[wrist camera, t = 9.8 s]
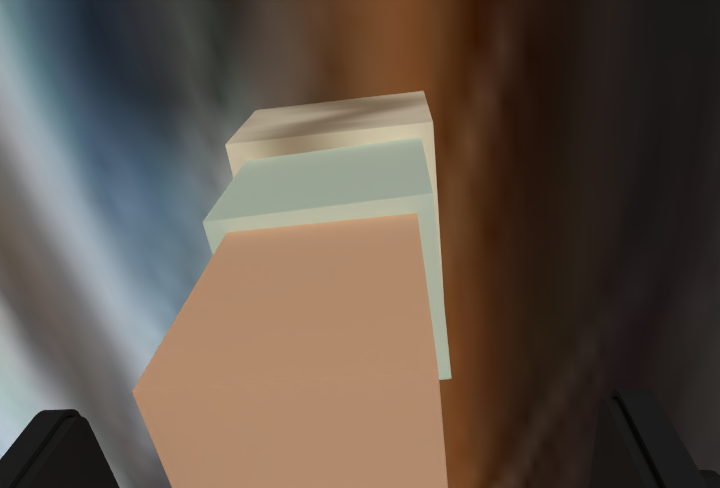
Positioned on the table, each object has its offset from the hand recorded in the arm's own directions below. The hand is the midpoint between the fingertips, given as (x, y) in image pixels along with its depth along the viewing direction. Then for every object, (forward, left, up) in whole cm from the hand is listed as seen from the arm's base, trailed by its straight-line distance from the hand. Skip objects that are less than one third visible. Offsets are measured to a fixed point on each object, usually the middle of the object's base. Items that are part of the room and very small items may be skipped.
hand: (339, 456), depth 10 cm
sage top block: (+1, 0, -11) cm, 11 cm away
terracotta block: (+1, 0, -6) cm, 6 cm away
